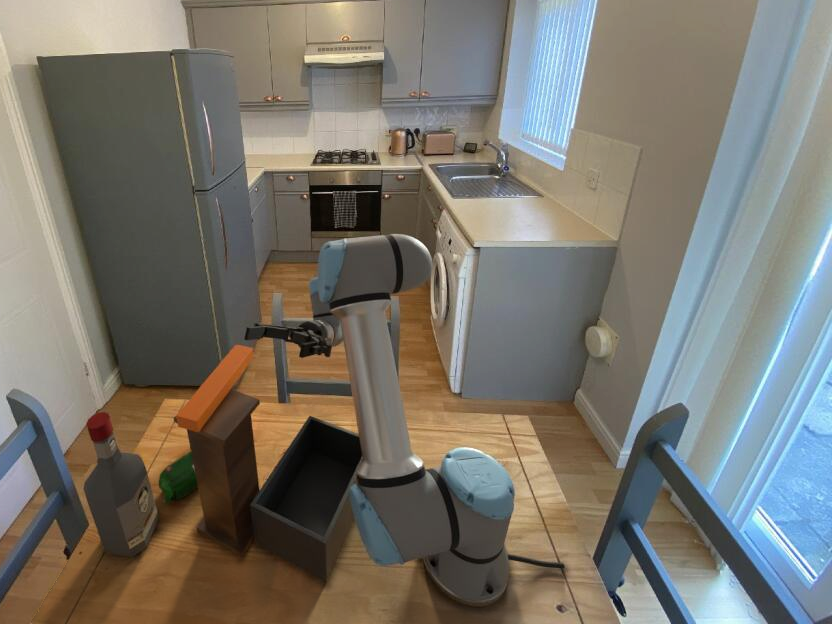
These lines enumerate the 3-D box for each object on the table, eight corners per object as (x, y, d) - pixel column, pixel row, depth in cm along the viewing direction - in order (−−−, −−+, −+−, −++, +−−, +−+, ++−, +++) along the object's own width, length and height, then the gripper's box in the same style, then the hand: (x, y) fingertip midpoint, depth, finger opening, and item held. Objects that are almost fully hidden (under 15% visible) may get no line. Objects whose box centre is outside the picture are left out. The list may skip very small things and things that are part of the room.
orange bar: (254, 357, 86) (253, 347, 85) (198, 432, 69) (196, 421, 68) (236, 354, 88) (235, 344, 87) (178, 426, 70) (175, 415, 69)
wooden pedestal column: (270, 510, 87) (259, 399, 76) (241, 557, 79) (224, 440, 67) (228, 489, 92) (211, 381, 80) (197, 531, 84) (173, 418, 72)
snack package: (234, 467, 97) (231, 450, 95) (168, 512, 87) (164, 494, 85) (219, 448, 102) (216, 432, 100) (155, 488, 92) (151, 471, 90)
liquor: (97, 555, 80) (55, 439, 68) (123, 508, 88) (89, 398, 77) (142, 560, 79) (107, 444, 67) (164, 513, 87) (136, 402, 76)
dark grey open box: (372, 475, 94) (373, 439, 90) (326, 583, 75) (325, 544, 71) (311, 450, 101) (309, 415, 96) (254, 543, 81) (249, 504, 77)
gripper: (356, 363, 102) (323, 377, 83) (270, 337, 112) (222, 344, 93) (363, 333, 102) (330, 339, 83) (276, 309, 113) (229, 310, 94)
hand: (273, 342), depth 88 cm, fingers open, 13 cm apart
